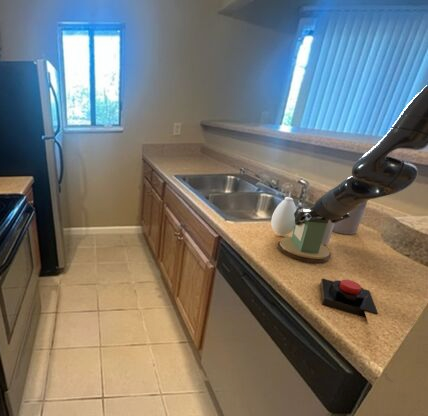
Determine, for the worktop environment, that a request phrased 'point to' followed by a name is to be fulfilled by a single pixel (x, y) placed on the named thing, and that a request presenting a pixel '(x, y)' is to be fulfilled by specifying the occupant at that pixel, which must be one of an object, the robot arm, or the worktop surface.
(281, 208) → the sauce bottle
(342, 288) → the bell button
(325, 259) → the disc
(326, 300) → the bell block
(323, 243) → the can
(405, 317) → the worktop surface
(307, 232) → the tea box
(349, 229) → the pillar candle
